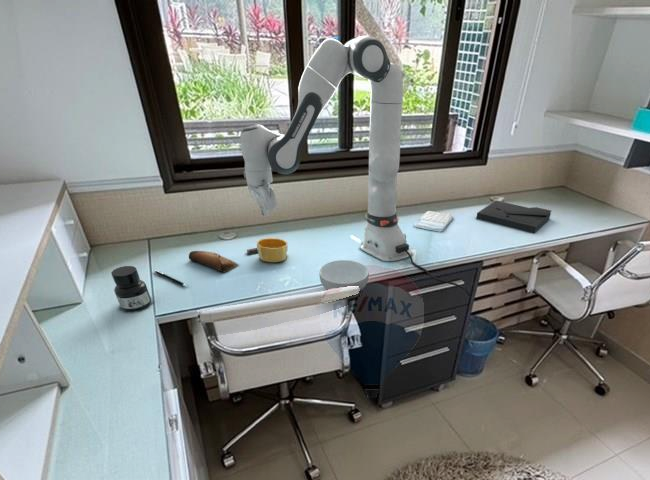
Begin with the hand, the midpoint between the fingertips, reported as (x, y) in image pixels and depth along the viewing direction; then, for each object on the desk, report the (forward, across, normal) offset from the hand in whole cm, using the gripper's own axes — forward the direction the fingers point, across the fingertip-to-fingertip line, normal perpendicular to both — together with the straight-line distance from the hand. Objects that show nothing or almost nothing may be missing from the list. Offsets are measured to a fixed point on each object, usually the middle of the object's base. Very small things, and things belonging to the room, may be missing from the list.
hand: (265, 215), depth 149 cm
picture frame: (+19, -15, -117) cm, 120 cm away
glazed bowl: (+10, -2, -1) cm, 11 cm away
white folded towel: (+18, -1, -80) cm, 82 cm away
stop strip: (+16, +7, 0) cm, 18 cm away
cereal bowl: (+17, -36, -13) cm, 42 cm away
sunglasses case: (+16, +4, +21) cm, 27 cm away
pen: (+16, -1, +38) cm, 41 cm away
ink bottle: (+16, -13, +50) cm, 54 cm away
